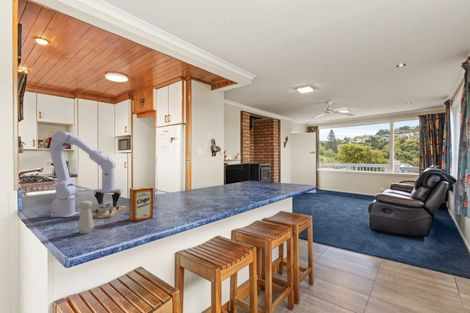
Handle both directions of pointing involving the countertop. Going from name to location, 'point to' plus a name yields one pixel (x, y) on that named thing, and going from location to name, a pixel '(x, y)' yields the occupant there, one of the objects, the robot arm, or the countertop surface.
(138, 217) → the baking soda box
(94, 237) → the countertop surface
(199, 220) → the countertop surface
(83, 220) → the salt shaker
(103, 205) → the drive block
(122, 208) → the pin tray
